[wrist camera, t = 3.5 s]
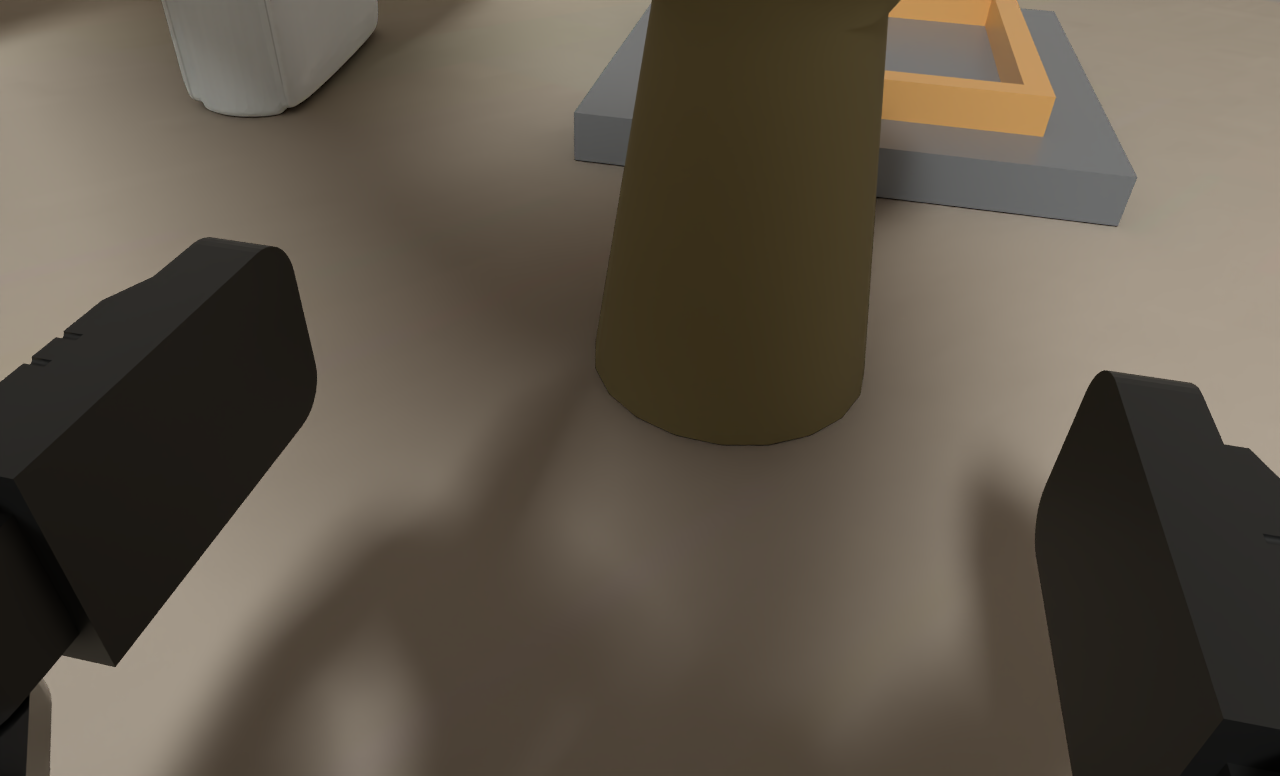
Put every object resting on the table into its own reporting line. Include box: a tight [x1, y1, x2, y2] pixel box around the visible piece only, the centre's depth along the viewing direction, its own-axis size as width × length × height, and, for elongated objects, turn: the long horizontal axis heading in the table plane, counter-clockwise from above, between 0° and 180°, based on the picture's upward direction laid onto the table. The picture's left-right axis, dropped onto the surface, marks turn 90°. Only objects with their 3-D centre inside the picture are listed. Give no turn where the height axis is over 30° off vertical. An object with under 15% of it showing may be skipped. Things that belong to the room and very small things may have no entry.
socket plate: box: [574, 0, 1137, 226], centre depth 33 cm, size 16×16×3 cm
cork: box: [595, 0, 901, 445], centre depth 17 cm, size 6×6×11 cm
